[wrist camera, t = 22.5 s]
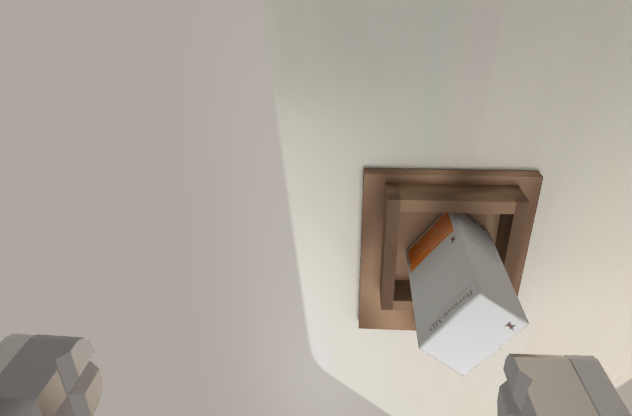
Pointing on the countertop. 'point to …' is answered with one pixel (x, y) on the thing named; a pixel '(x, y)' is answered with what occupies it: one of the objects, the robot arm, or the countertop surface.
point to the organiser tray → (420, 213)
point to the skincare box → (461, 293)
